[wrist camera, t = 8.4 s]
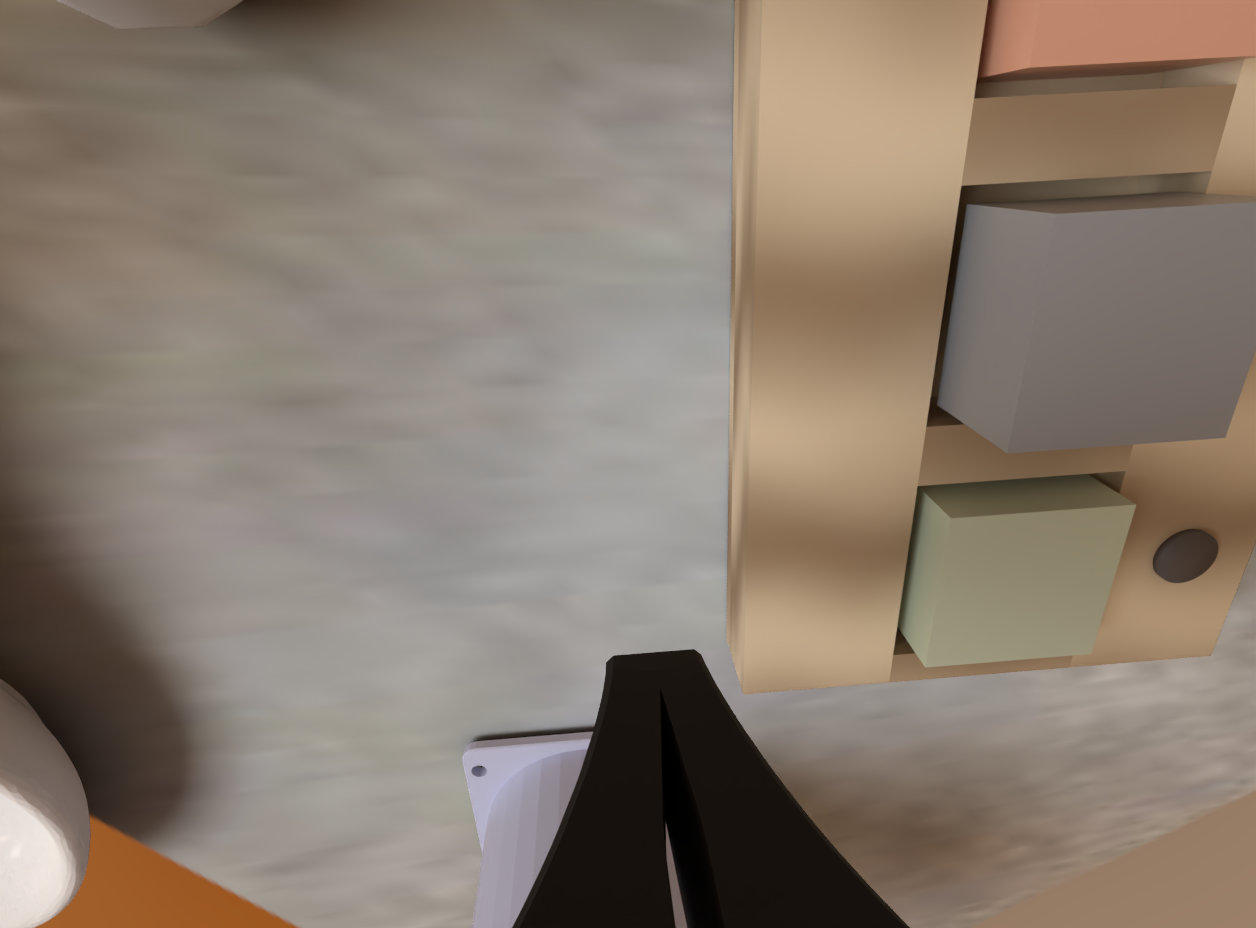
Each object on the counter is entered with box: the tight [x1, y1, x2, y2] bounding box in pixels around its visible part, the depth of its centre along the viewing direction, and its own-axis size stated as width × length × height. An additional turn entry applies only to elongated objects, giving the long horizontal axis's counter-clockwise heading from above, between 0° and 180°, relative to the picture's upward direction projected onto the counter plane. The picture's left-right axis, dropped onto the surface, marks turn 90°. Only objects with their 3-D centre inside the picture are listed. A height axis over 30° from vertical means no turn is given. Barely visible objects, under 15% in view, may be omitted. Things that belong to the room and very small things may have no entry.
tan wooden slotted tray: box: [726, 0, 1256, 694], centre depth 16 cm, size 21×14×3 cm, turn 3°
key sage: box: [897, 474, 1136, 668], centre depth 18 cm, size 5×5×3 cm
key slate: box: [937, 192, 1256, 454], centre depth 14 cm, size 5×5×3 cm
